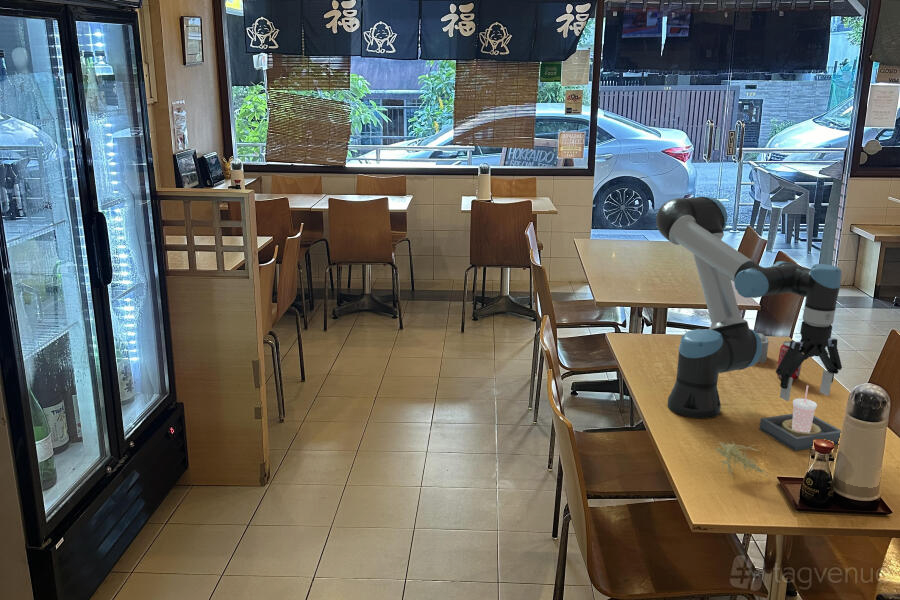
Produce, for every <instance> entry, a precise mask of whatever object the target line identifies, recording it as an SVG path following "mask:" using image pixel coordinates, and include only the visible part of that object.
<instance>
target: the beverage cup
mask: <svg viewBox="0 0 900 600" xmlns="http://www.w3.org/2000/svg"><path fill="white" fill-rule="evenodd" d="M808 390H809V385H808V384H807V385H806V388H805V394H804V398H794V399H793V400H792V405H793V407H792V414H793V419H792V429H793V430H796V431H799V432H807V433H810V430H811V426H812V421H813V417H814V416H815V413H816V412H815V411H816V409H817V406H818V404H817V403H816V401H813V400H811V399H808Z"/></svg>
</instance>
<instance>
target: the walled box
mask: <svg viewBox="0 0 900 600" xmlns="http://www.w3.org/2000/svg"><path fill="white" fill-rule="evenodd" d="M792 419H793V413H788V414H781V415H775V416H767V417H761V418H760V420H759V421H760V422H759V428H758V429H759V431H761V432H762V433H764V434H766V435H767V436H769V437H771V438H772V439H774V440H775V441H777V442H779V443H781V444H782V445H784V446H786V447H787V448H789V449H790V450H792V451H793V452H798V451H804V450H811V449H813V448H812V446H813V440H814V439H826V440H830V441H833V442H834V444H835V446H836V444H837V445H839V444H838V441H839V438H840V433H841V429H839V428H838V427H836V426H834V425H832V424H830V423H829V422H826V421H825V420H822V419H821V418H819V417H817V416H815V415H814V417H813V421H812V426H811V430H810V433H807V432H799V431H796V430H793V429H792ZM810 448H811V449H810Z"/></svg>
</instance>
